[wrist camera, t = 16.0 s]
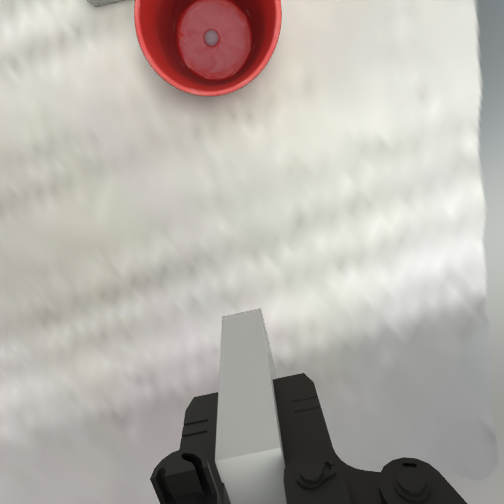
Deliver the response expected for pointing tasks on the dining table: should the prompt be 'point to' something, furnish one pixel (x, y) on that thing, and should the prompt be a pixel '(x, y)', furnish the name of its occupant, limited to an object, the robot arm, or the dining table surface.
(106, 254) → the dining table surface
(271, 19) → the flower pot
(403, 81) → the dining table surface
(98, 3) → the rail channel
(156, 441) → the dining table surface
